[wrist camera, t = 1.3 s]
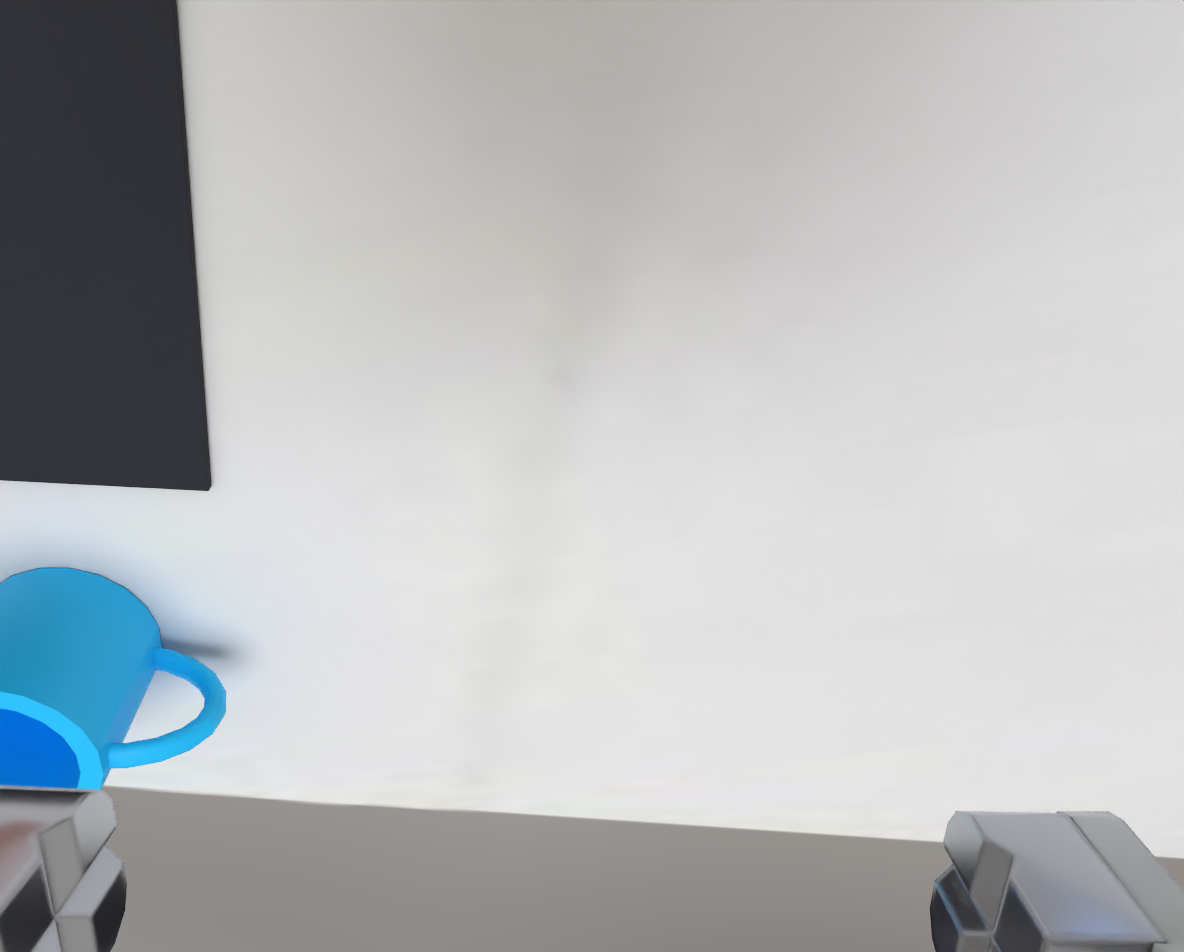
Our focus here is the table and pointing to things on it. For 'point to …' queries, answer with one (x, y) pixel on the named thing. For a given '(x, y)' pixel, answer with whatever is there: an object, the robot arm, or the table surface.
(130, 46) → the mat
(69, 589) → the mug
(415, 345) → the table surface
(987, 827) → the robot arm
